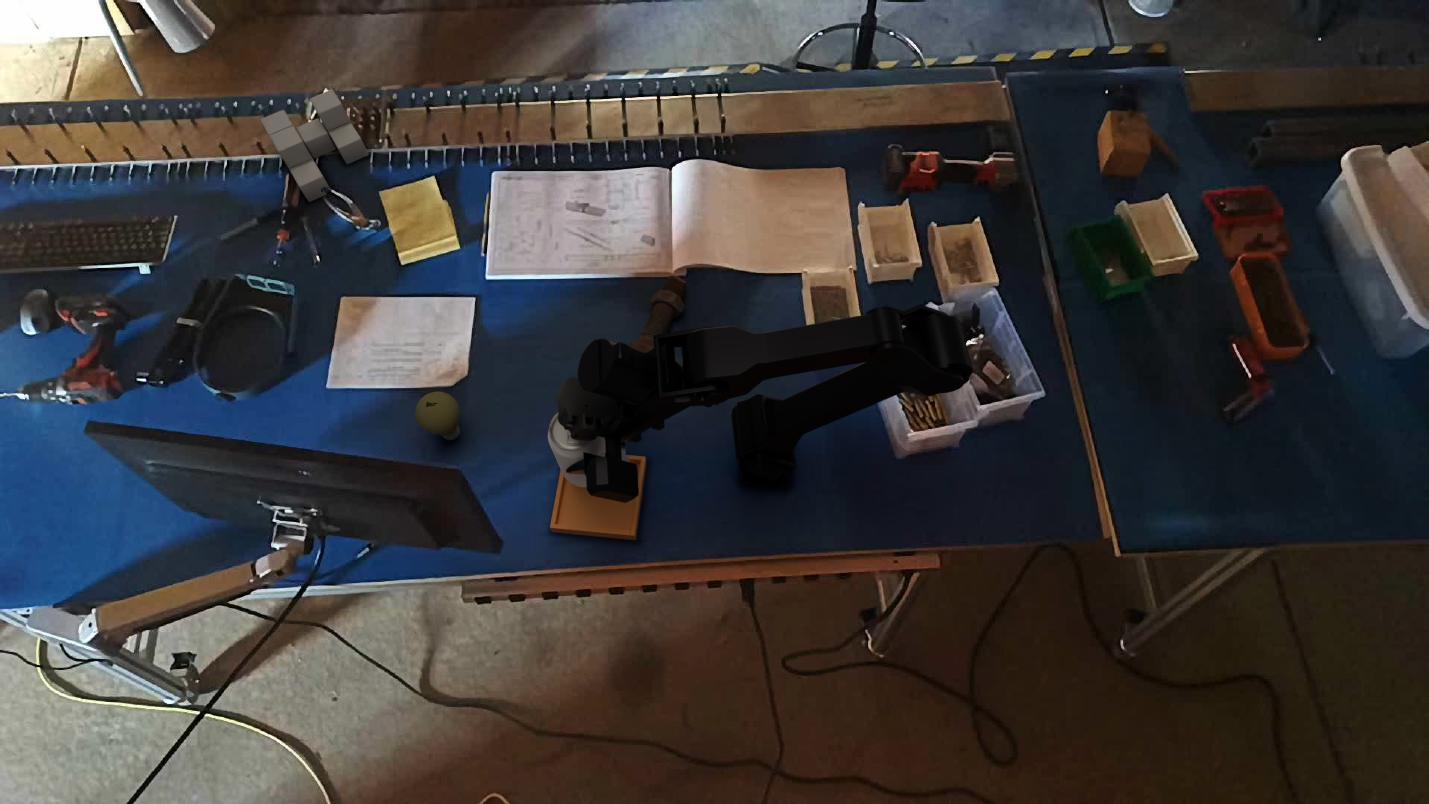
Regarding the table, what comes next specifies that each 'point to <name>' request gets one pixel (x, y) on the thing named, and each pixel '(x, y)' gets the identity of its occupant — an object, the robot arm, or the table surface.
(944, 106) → the table surface
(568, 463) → the can
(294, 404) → the table surface
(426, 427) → the light bulb
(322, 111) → the gray h shaped block
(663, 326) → the bolt
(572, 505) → the tray
